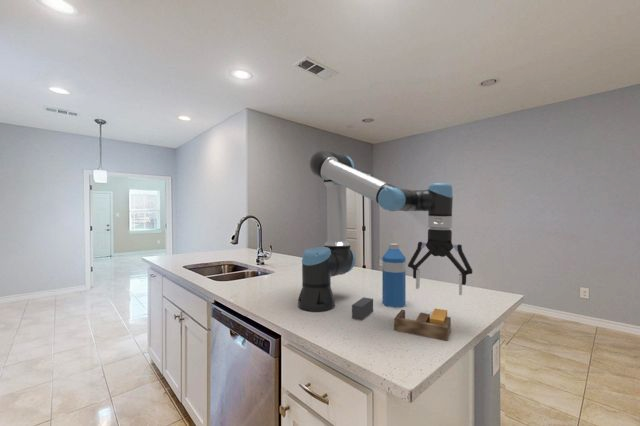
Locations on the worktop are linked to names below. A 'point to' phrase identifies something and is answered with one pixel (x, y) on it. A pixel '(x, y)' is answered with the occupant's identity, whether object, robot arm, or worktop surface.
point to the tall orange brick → (438, 316)
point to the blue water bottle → (393, 277)
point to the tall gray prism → (362, 308)
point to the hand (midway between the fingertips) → (438, 291)
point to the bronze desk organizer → (422, 326)
